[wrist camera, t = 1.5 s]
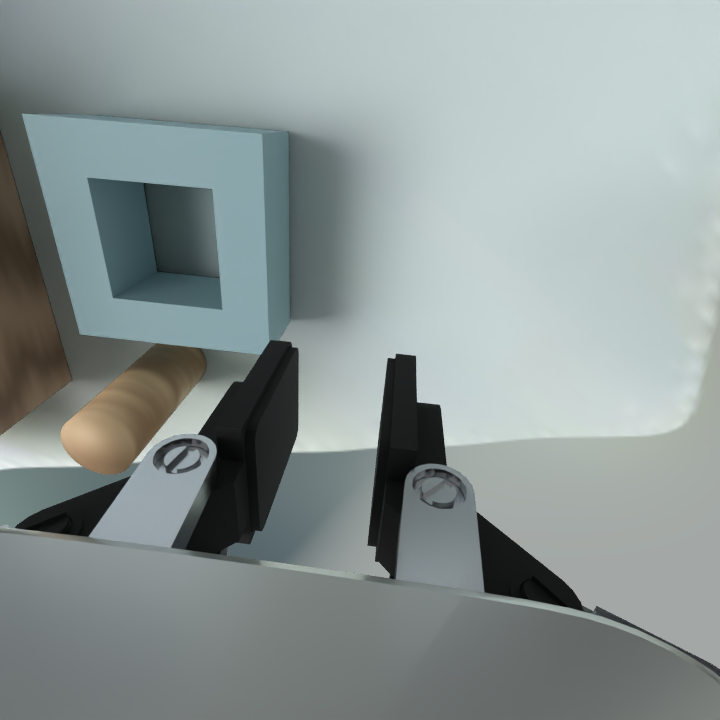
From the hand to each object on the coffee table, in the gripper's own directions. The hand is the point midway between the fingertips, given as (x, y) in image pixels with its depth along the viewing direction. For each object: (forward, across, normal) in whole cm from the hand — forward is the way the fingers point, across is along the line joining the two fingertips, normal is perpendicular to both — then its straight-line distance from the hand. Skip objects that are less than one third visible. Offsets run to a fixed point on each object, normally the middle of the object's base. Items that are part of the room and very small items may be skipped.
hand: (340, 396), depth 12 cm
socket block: (+17, +11, 0) cm, 21 cm away
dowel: (+17, +14, +10) cm, 24 cm away
